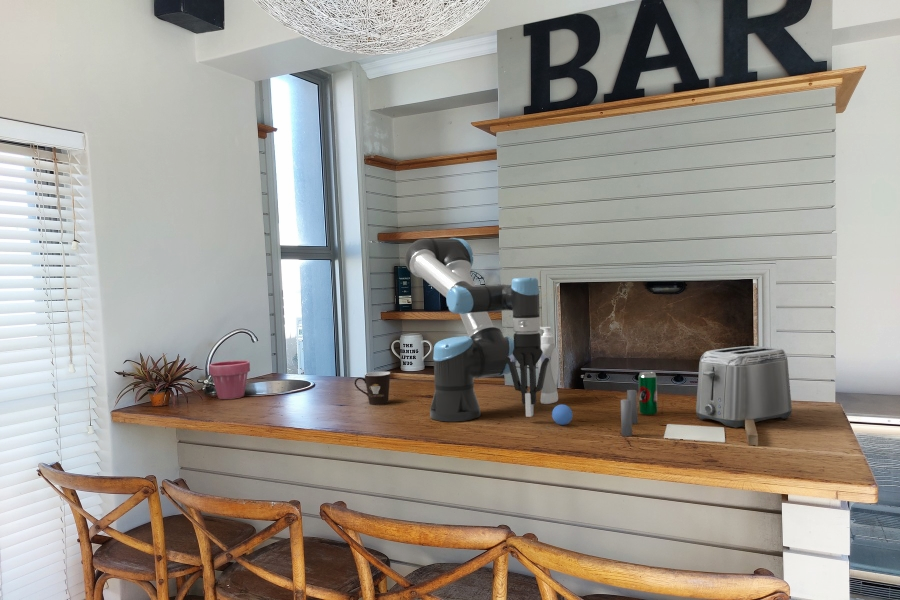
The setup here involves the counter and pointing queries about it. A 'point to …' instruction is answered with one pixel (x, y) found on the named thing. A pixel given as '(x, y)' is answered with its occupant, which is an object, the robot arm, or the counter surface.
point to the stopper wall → (751, 432)
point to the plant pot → (230, 378)
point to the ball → (562, 414)
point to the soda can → (647, 393)
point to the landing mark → (695, 433)
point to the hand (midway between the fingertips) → (529, 415)
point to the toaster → (743, 385)
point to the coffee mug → (376, 387)
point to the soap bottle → (549, 367)
